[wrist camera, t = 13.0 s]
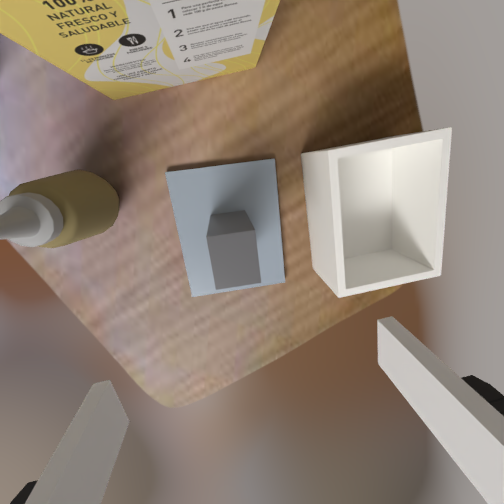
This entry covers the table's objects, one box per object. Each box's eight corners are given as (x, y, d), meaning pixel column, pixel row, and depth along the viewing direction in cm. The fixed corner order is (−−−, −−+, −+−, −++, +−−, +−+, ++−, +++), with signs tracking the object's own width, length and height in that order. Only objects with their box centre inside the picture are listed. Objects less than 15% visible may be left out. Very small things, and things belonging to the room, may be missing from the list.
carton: (300, 153, 37) (327, 150, 28) (394, 135, 38) (452, 127, 29) (312, 268, 43) (338, 297, 34) (393, 251, 44) (441, 275, 35)
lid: (166, 172, 36) (138, 176, 24) (273, 158, 37) (299, 156, 25) (193, 293, 43) (181, 347, 30) (283, 279, 44) (308, 325, 31)
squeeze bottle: (71, 159, 34) (-74, 155, 17) (134, 182, 36) (59, 200, 19) (60, 216, 36) (-80, 264, 19) (120, 236, 38) (41, 294, 21)
